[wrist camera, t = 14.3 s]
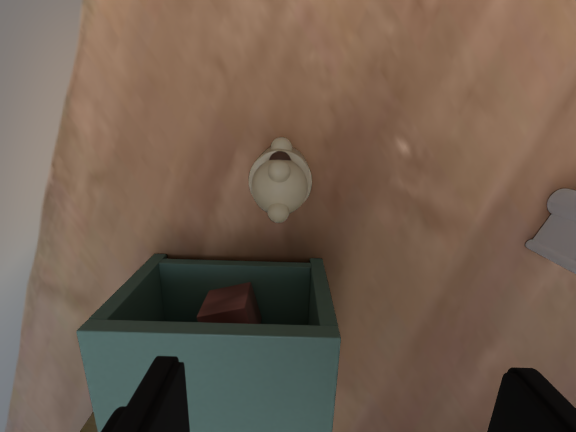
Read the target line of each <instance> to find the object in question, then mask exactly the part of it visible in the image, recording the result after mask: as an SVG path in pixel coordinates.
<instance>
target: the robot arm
mask: <svg viewBox="0 0 576 432" xmlns="http://www.w3.org/2000/svg"><path fill="white" fill-rule="evenodd" d="M101 432H190V425H189V413H188V401H187V389H186V377H185V366H184V362H179V359H178V357H176V356H157V357H156V358H155V359H154V360H153V362H152V364H151V366H150V367H149V369H148V371H147V372H146V374H145V376H144V377H143V379H142V381H141V382H140V384H139V386H138V387H137V389H136V391H135V392H134V394H133V396H132V397H131V399H130V401H129V403H128V404H127V406H121V407H118V408H117V409H116V410H115V411H114V412H113V414H112V415H111V416H110V418H109V419H108V421H107V423H106V424H105V426H104V427H103V429H102V431H101ZM487 432H576V408H575V407H574V406H573V405H572V404H571V403H570V402H569V401H568V400H567V399H566V398H565V397H564V396H563V395H562V394H561V393H560V392H559V391H558V390H557V389H556V388H555V387H554V386H553V385H552V384H551V383H550V382H549V381H548V380H547V379H546V378H545V377H544V376H543V375H542V374H540V373H539V372H538V371H537V370H535V369H533V368H510V369H509V370H508V372H507V373H505V374H504V375H503V378H502V381H501V385H500V388H499V392H498V396H497V399H496V403H495V406H494V410H493V413H492V417H491V421H490V424H489V428H488V431H487Z"/></svg>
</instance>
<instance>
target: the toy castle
mask: <svg viewBox="0 0 576 432" xmlns="http://www.w3.org/2000/svg"><path fill="white" fill-rule="evenodd" d="M547 209H548V211H549V212H550V213H551V215H550V216H549V218H548V219H547V220H546V222H545V223H544V225H543V226H542V227H541V229H540V230H539V231H538V233H537V234H536V236H535V237H534V238H533V240H528V241H527V242H526V244H525V246H526V247H527V248H528V249H530V250H532V251H534V252H536V253H537V254H539V255H541V256H543V257H545V258H547V259H549V260H551V261H552V262H554V263H556V264H558V265H560V266H562V267H564V268H565V269H567V270H569V271H571V272H573V273H575V274H576V190H571V189H567V188H564V189H560V190H557V191H556V192H554V193H553V194H552V195H551V196H550V198H549V199H548V202H547Z"/></svg>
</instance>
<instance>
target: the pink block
mask: <svg viewBox="0 0 576 432" xmlns="http://www.w3.org/2000/svg"><path fill="white" fill-rule="evenodd" d="M197 320H198V322H205V323H241V324H261V320H262V317H261V314H260V310H259V307H258V304H257V301H256V297H255V294H254V291H253V288H252V284H251V282H247V283H243V284H238V285H233V286H229V287H224V288H219V289H214V290H210V291H209V292H208V294H207V296H206V298H205V300H204V302H203V304H202V306H201V309H200V311H199V313H198V315H197Z"/></svg>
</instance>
